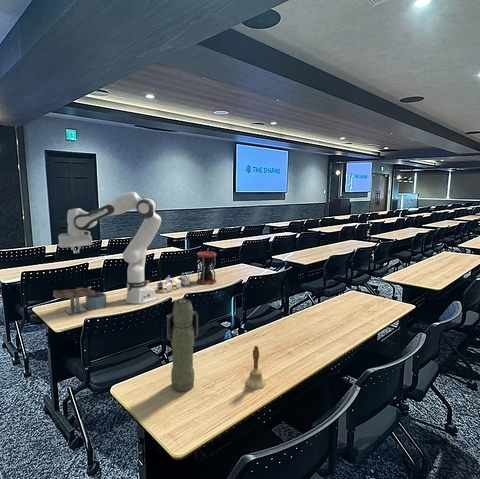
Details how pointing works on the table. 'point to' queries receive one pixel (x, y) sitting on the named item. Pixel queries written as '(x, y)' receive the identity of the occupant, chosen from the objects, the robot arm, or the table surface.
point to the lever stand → (73, 308)
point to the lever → (73, 293)
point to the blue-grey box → (96, 301)
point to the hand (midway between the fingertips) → (76, 253)
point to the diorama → (173, 282)
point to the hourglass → (206, 267)
